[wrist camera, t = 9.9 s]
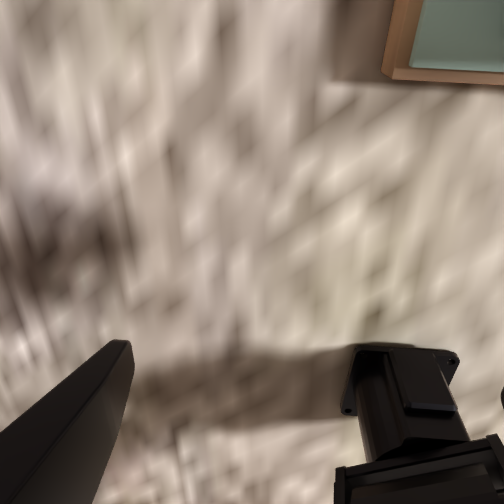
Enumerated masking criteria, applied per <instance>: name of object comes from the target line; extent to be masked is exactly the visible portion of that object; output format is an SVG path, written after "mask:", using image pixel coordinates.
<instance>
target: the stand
mask: <svg viewBox="0 0 504 504" xmlns="http://www.w3.org/2000/svg"><path fill="white" fill-rule="evenodd" d="M381 72H382V73H384V74H385V75H387V76H388V77H390V78H391V79H399V80H417V81H436V82H454V83H472V84H491V85H504V0H395V1H394V6H393V12H392V17H391V22H390V27H389V32H388V37H387V42H386V47H385V52H384V57H383V62H382V67H381Z"/></svg>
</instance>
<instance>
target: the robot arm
mask: <svg viewBox="0 0 504 504" xmlns="http://www.w3.org/2000/svg"><path fill="white" fill-rule="evenodd" d="M361 353H364V354H361ZM459 363H460V360H459V358H458V356H457V354H456V353H454V352H447V351H433V350H419V349H406V348H392V347H378V346H364V345H362V346H358V347H356V348H355V350H354V353H353V357H352V361H351V365H350V369H349V373H348V377H347V381H346V385H345V389H344V392H343V396H342V400H341V404H340V408H341V413H342V414H344V415H350V416H358V420H359V425H360V430H361V436H362V441H363V446H364V451H365V457H366V462H367V463H365V464H360V465H356V466H351V467H345V466H342V467H338V468H336V474H335V482H334V504H504V445H503V444H502V442H501V440H500V438H499V437H498V435H497V433H496V434H492V435H487V436H486V438H482V439H478V440H473V441H471V440H470V438H469V435H468V433H467V431H466V428H465V426H464V424H463V422H462V419H461V417H460V415H459V412H458V410H457V409H458V408H457V405H456V402H455V400H454V398H453V396H452V393H451V391H450V389H449V384H450V382H451V380H452V378H453V376H454V374H455V371H456V369H457V367H458V365H459ZM134 370H135V363H134V357H133V351H132V346H131V343H130V341H128V340H117V339H114V340H112V341H110V342H109V343H107V344H106V345H105V346H104V347H103V348H101V349H100V350H99V351H98V352H97V353H95V354H94V355H93V356H92V357H91V358H89V359H88V360H87V361H86V362H84V363H83V364H82V365H81V366H80V367H78V368H77V369H76V370H75V371H74V372H72V373H71V374H70V375H69V376H68V377H66V378H65V379H64V380H63V381H62V382H60V383H59V384H58V385H57V386H56V387H54V388H53V389H52V390H51V391H50V392H48V393H47V394H46V395H45V396H44V397H42V398H41V399H40V400H39V401H38V402H36V403H35V404H34V405H33V406H32V407H30V408H29V409H28V410H27V411H26V412H24V413H23V414H22V415H21V416H20V417H18V418H17V419H16V420H15V421H13V422H12V423H11V424H10V425H9V426H7V427H6V428H5V429H4V430H3V431H1V432H0V504H92V502H93V500H94V497H95V494H96V492H97V489H98V487H99V484H100V481H101V479H102V476H103V473H104V471H105V468H106V466H107V463H108V460H109V458H110V455H111V452H112V450H113V447H114V444H115V442H116V439H117V436H118V432H119V429H120V425H121V422H122V418H123V414H124V410H125V406H126V402H127V398H128V395H129V391H130V387H131V383H132V379H133V375H134ZM501 402H502V406H503V409H504V388H503V389H502V392H501Z"/></svg>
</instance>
